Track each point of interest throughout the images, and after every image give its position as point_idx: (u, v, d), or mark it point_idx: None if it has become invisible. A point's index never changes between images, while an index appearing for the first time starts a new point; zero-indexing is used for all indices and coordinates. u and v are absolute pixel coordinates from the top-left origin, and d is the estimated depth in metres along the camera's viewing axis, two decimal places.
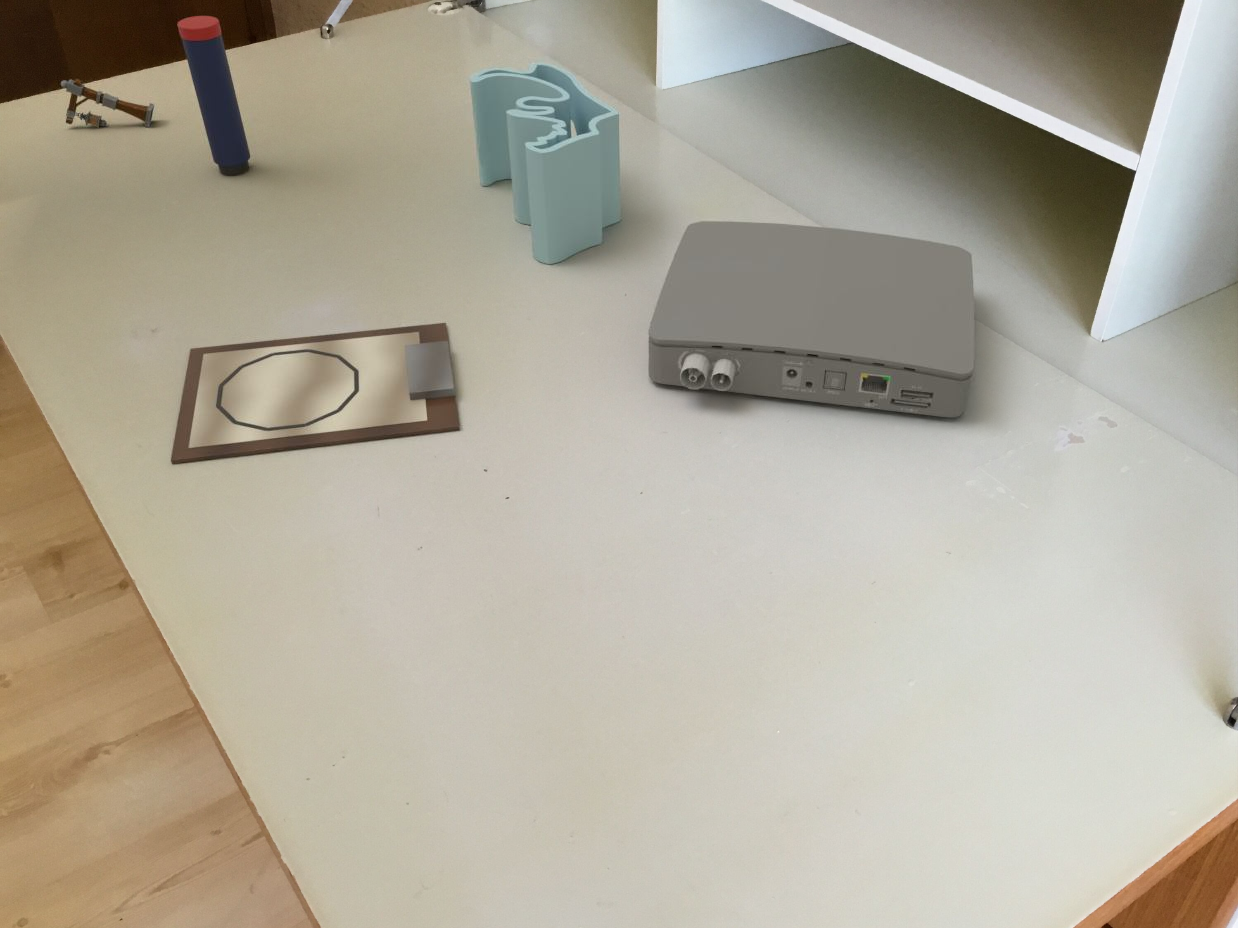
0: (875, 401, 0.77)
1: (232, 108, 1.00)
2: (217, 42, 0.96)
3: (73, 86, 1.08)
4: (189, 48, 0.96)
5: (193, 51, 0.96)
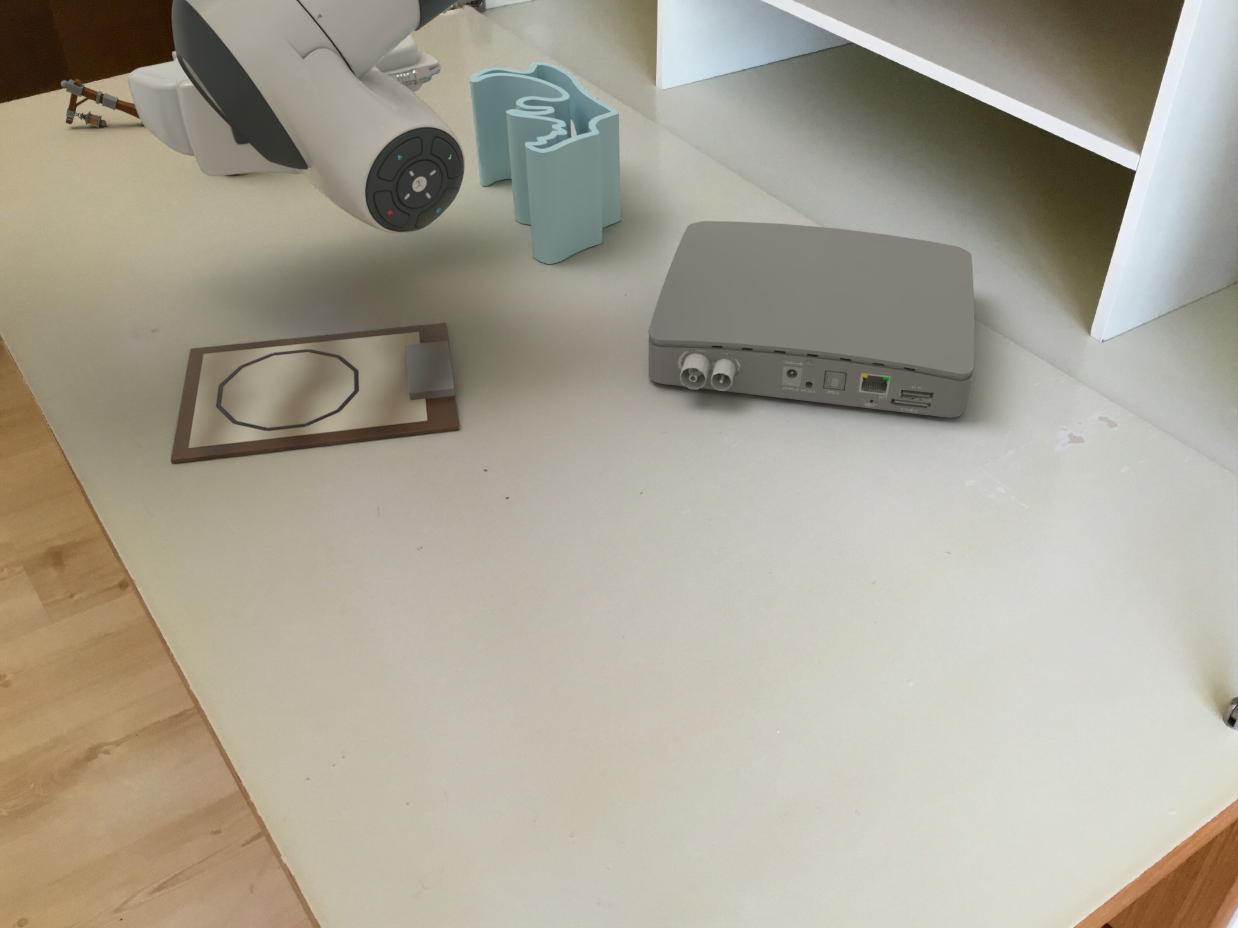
0: (875, 401, 0.77)
1: None
2: None
3: (73, 86, 1.08)
4: None
5: None
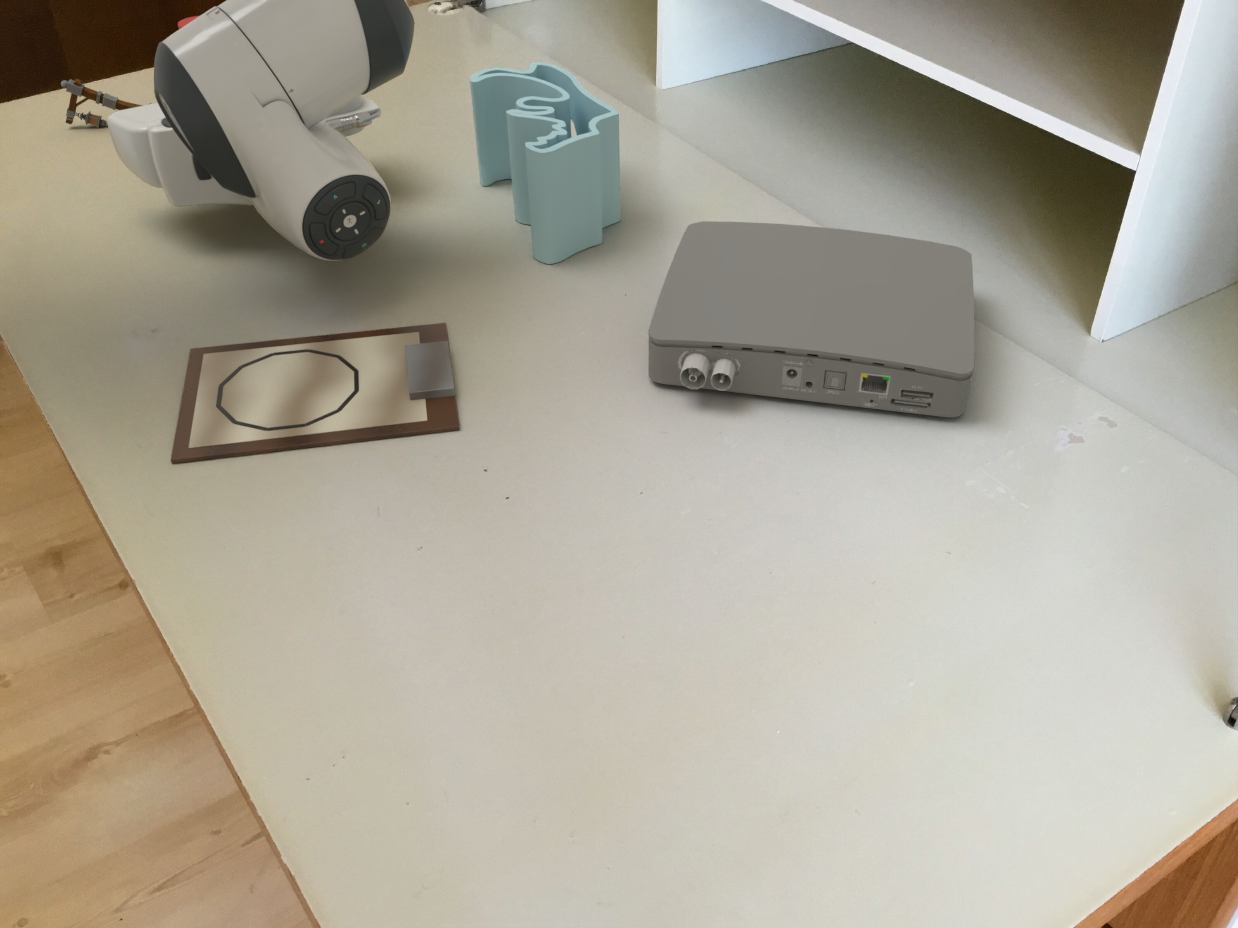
0: (875, 401, 0.77)
1: None
2: None
3: (73, 86, 1.08)
4: None
5: None
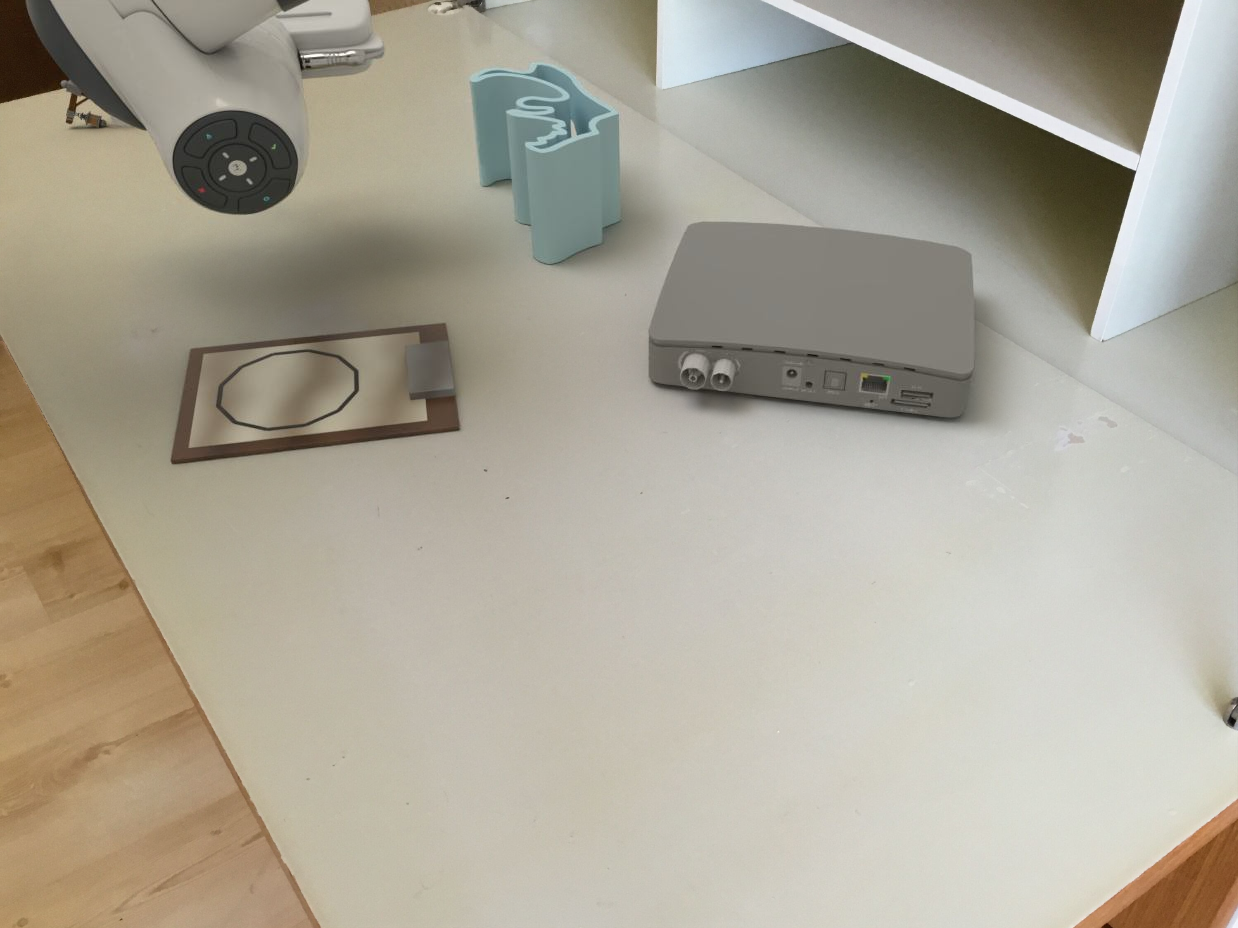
0: (875, 401, 0.77)
1: None
2: None
3: (73, 86, 1.08)
4: None
5: None
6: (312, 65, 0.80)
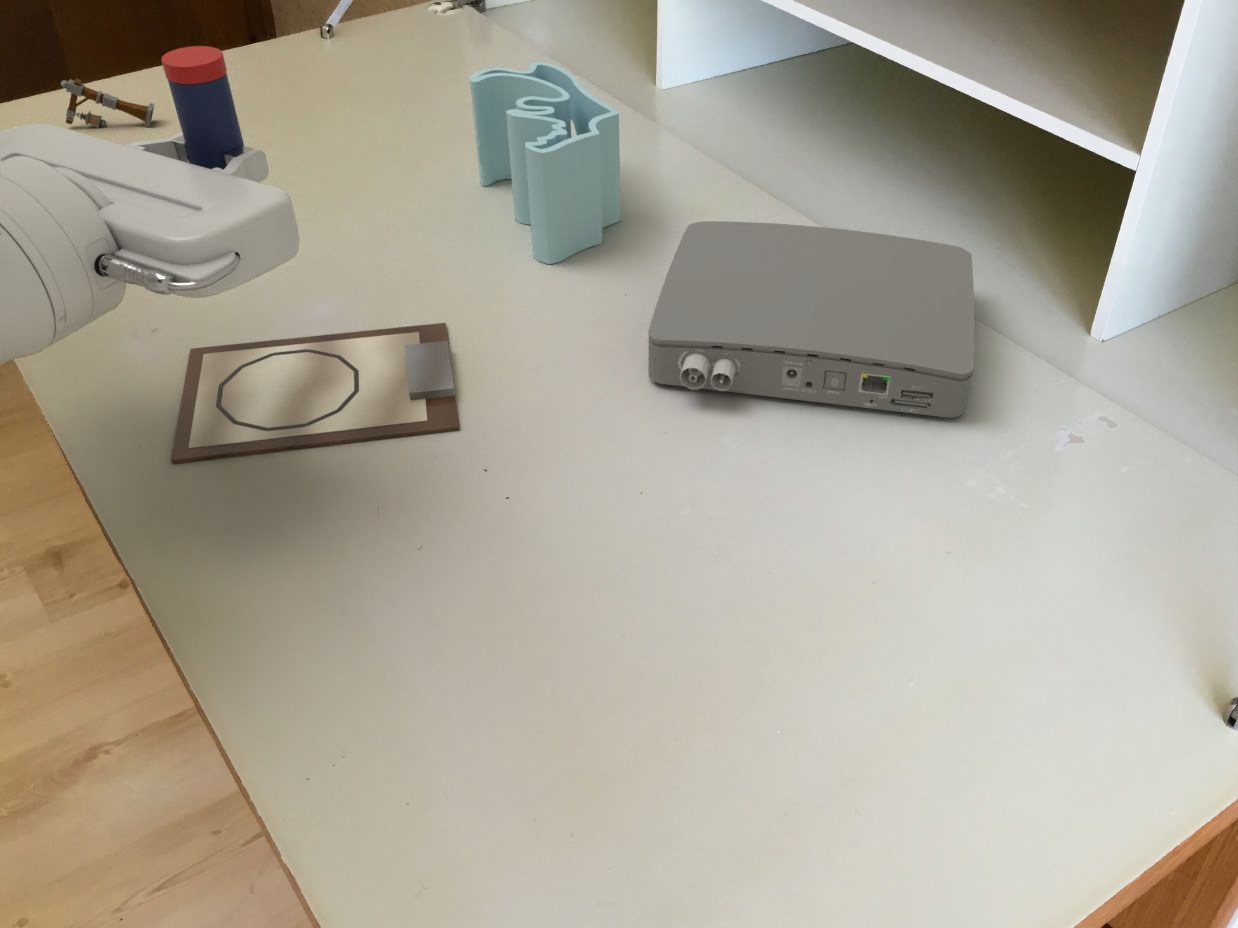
0: (875, 401, 0.77)
1: None
2: (191, 91, 0.64)
3: (73, 86, 1.08)
4: None
5: None
6: (112, 274, 0.58)
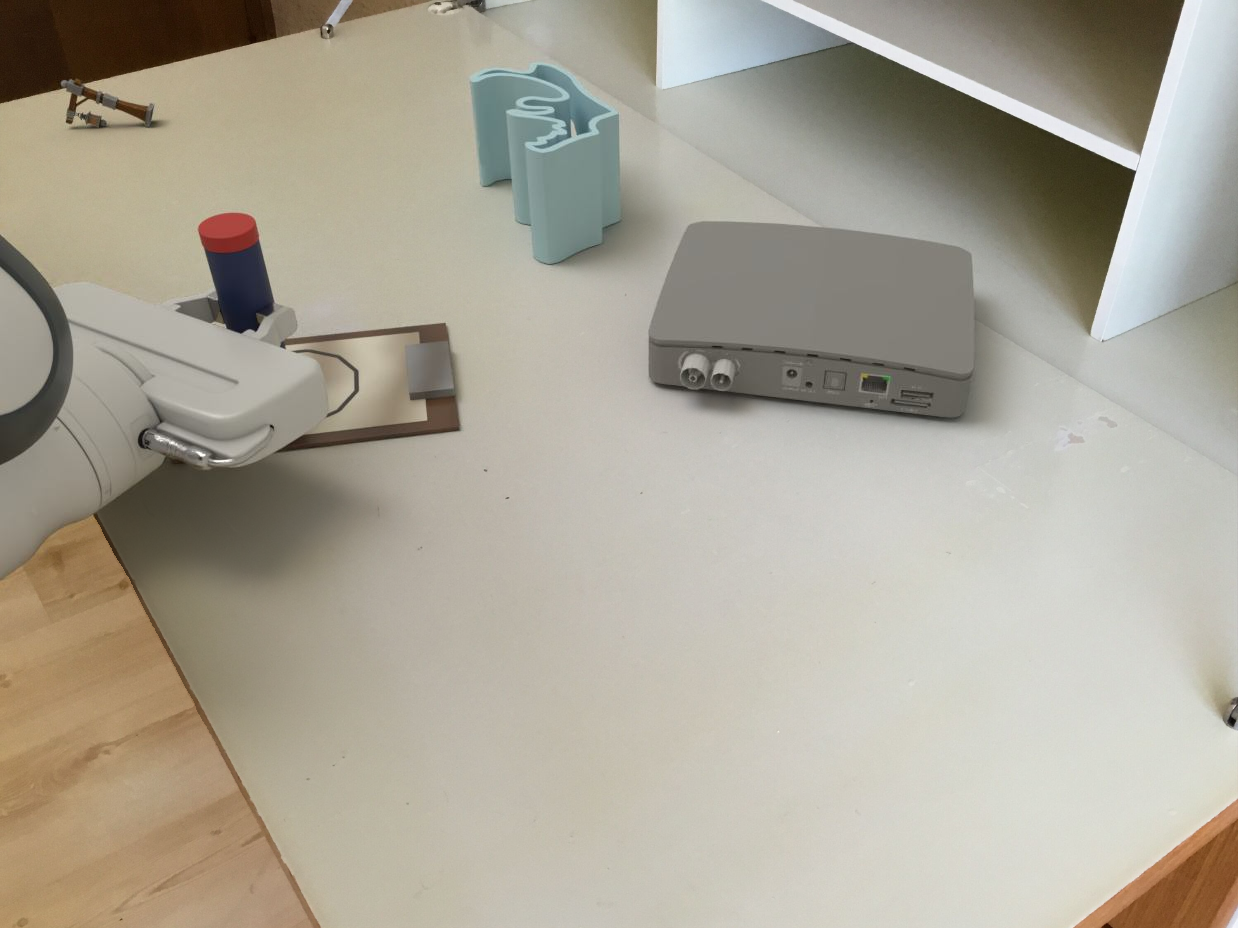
0: (875, 401, 0.77)
1: None
2: (226, 259, 0.68)
3: (73, 86, 1.08)
4: None
5: None
6: (154, 448, 0.62)
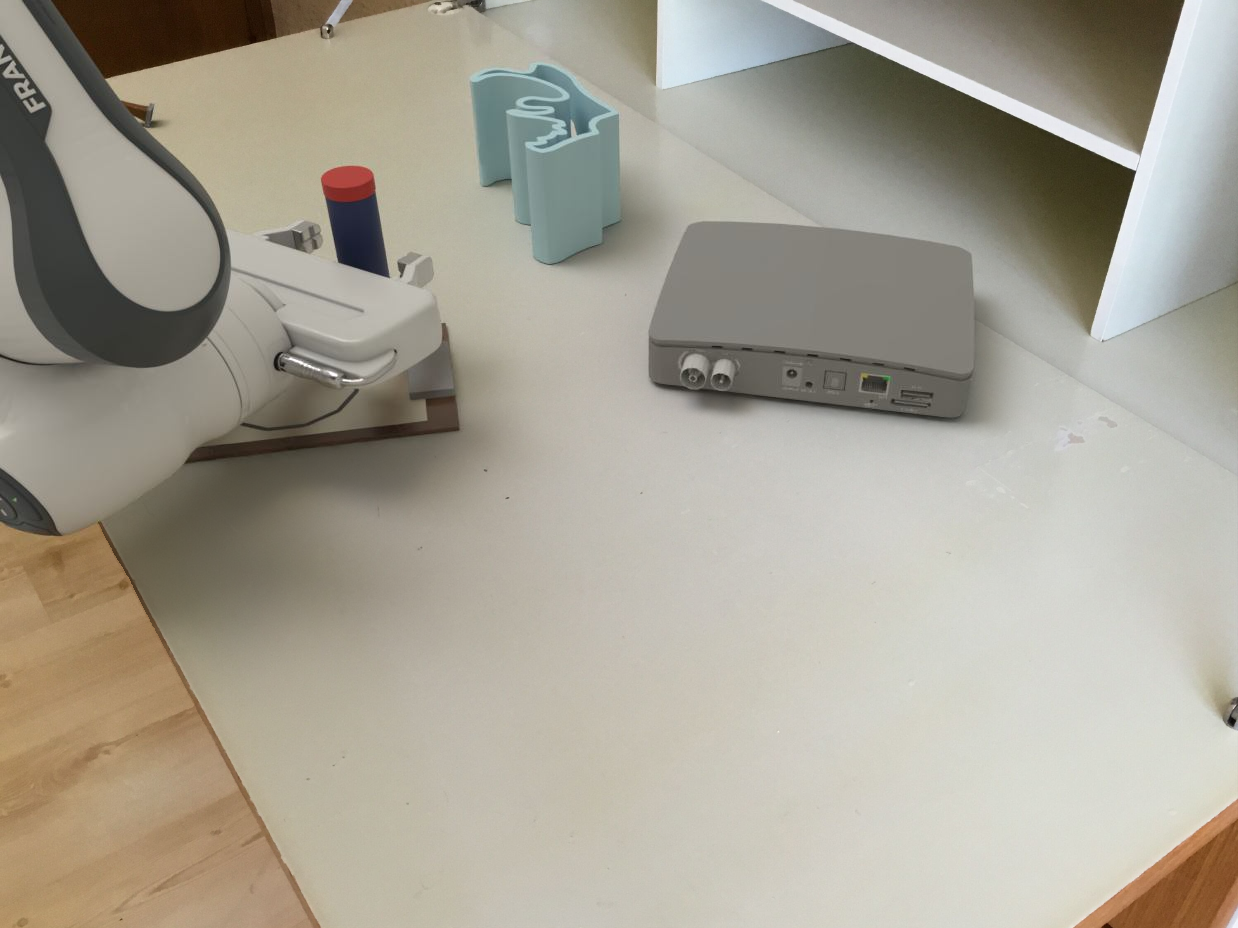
0: (875, 401, 0.77)
1: None
2: (347, 208, 0.73)
3: None
4: None
5: None
6: (289, 369, 0.67)
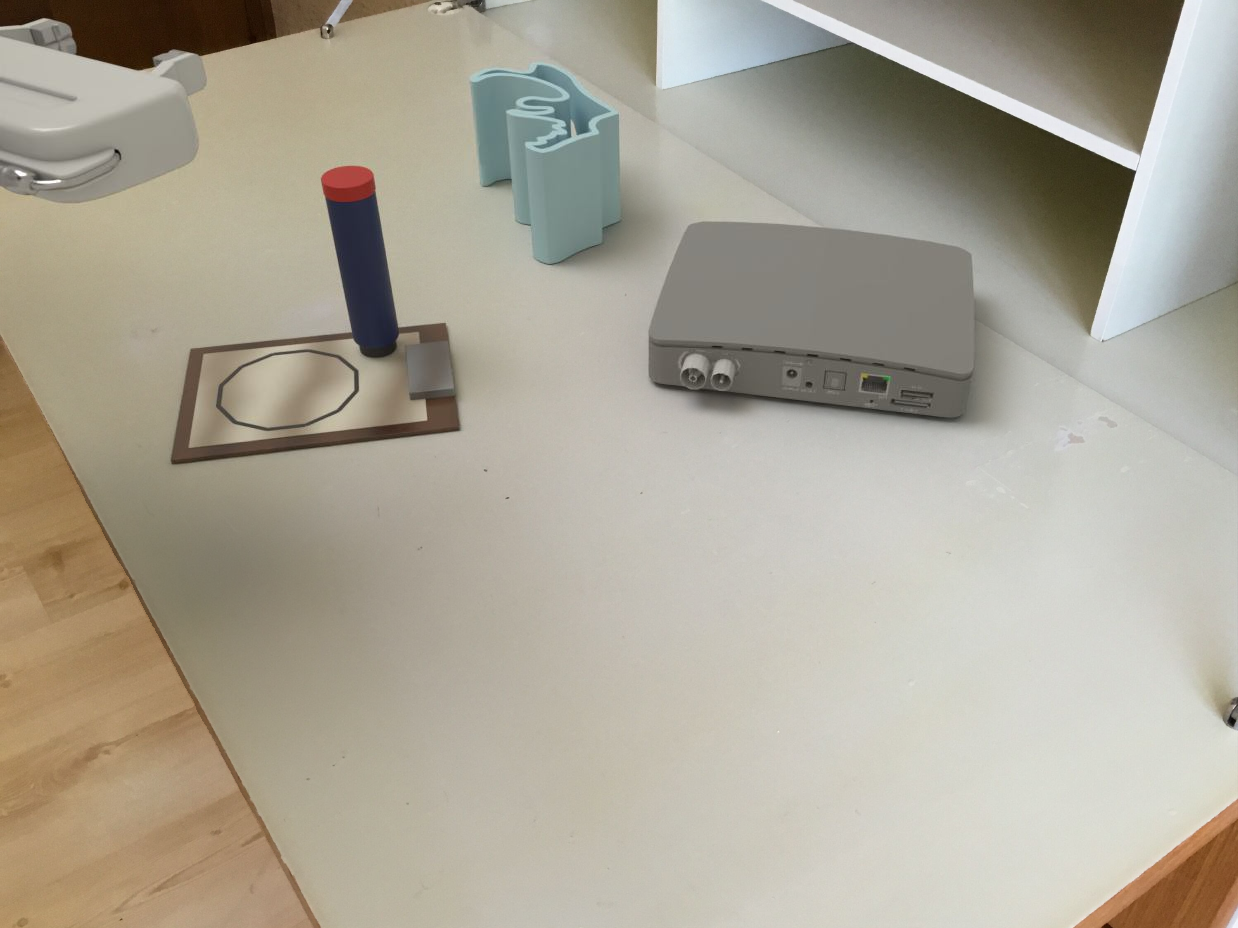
0: (875, 401, 0.77)
1: (360, 286, 0.77)
2: (347, 208, 0.73)
3: None
4: None
5: None
6: None
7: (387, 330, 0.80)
